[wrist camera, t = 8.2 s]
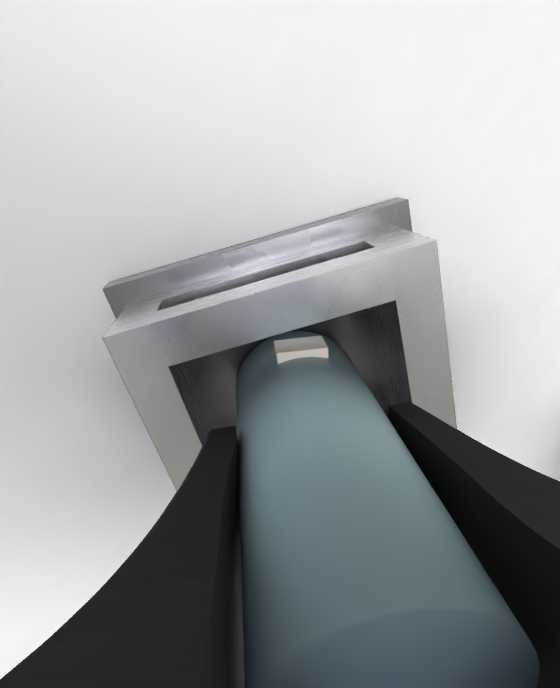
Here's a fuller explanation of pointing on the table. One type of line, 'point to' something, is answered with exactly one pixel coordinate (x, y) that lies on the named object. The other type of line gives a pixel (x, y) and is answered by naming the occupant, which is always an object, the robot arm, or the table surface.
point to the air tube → (353, 542)
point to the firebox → (282, 321)
